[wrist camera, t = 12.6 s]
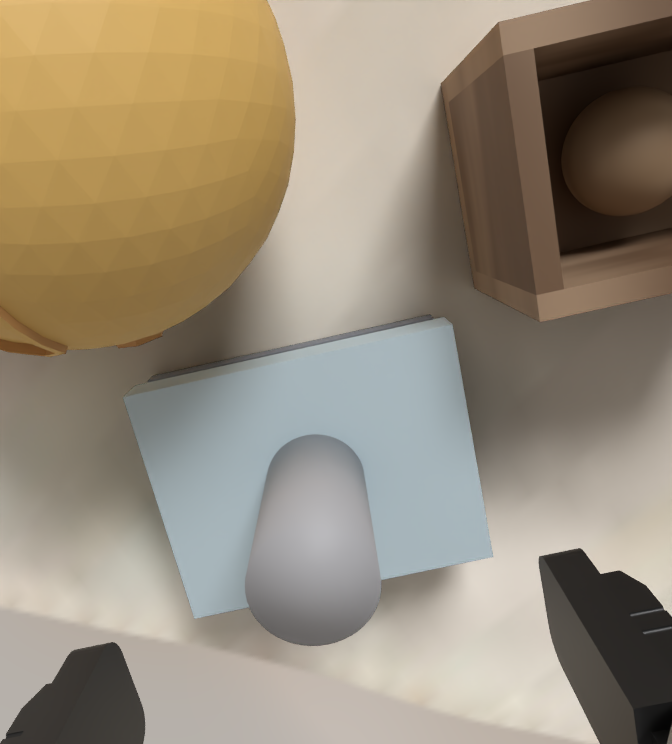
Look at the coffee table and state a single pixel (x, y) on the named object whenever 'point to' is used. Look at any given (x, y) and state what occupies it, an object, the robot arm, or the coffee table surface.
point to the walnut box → (555, 158)
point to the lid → (315, 477)
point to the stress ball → (134, 163)
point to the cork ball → (621, 152)
